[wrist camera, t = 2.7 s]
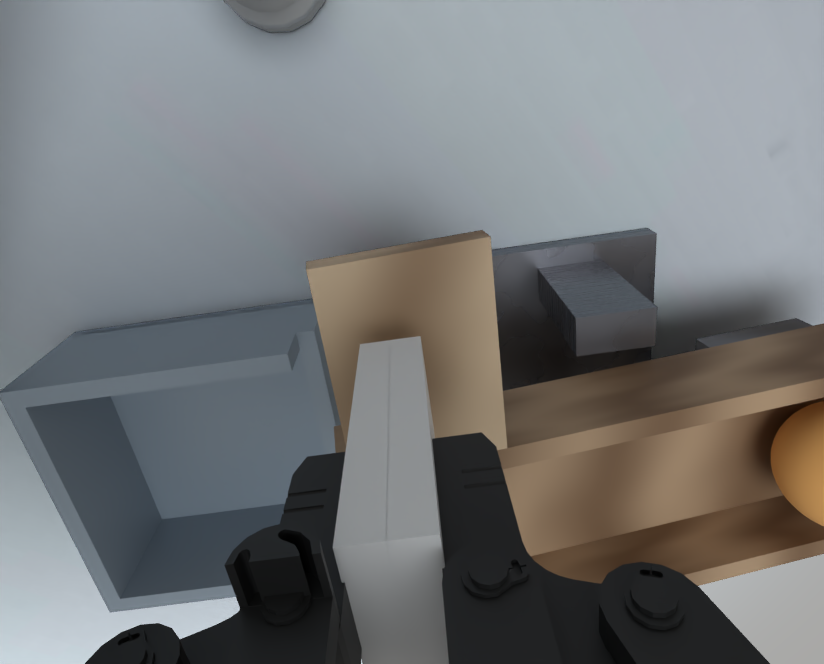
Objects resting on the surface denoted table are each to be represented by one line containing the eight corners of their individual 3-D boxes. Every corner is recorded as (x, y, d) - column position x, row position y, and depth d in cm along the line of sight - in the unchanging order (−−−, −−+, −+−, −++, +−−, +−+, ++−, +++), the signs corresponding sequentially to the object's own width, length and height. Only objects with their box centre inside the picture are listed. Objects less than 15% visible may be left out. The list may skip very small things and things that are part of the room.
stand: (501, 496, 33) (527, 596, 27) (480, 251, 27) (507, 305, 20) (637, 478, 33) (696, 575, 26) (647, 227, 27) (728, 274, 20)
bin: (156, 524, 33) (109, 612, 28) (75, 332, 28) (-3, 393, 22) (367, 497, 33) (362, 580, 27) (324, 297, 28) (307, 351, 22)
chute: (837, 128, 23) (1021, 140, 17) (784, 445, 29) (903, 533, 23) (293, 222, 20) (287, 273, 15) (365, 542, 27) (381, 666, 21)
